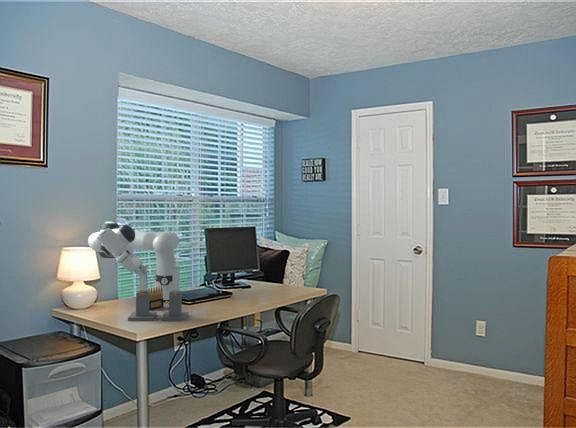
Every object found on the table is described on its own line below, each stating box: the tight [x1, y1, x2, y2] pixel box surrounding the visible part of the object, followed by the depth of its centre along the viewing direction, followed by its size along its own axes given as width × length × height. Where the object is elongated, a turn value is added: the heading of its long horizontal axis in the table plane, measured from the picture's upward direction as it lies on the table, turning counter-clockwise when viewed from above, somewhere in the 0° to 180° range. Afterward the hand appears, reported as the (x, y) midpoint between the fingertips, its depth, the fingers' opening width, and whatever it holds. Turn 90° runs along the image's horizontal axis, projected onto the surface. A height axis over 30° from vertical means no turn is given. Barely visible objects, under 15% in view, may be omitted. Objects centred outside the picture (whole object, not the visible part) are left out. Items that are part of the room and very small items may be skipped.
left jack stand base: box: [127, 290, 158, 322], centre depth 252 cm, size 12×12×13 cm
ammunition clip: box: [147, 286, 164, 311], centre depth 272 cm, size 11×2×12 cm, turn 146°
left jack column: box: [138, 265, 148, 293], centre depth 251 cm, size 3×3×17 cm
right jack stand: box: [160, 265, 189, 322], centre depth 253 cm, size 12×12×26 cm
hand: (144, 274), depth 251 cm, fingers open, 8 cm apart
